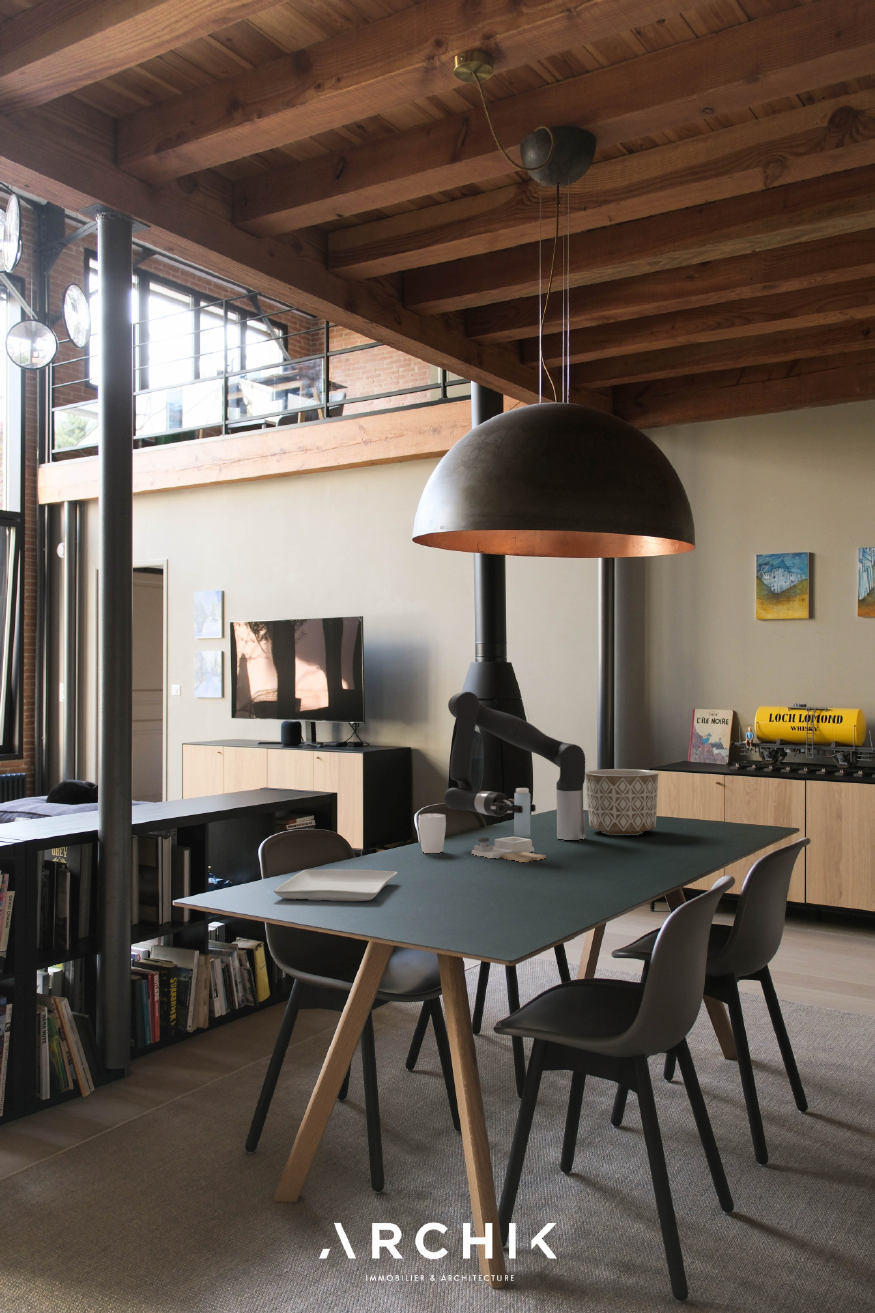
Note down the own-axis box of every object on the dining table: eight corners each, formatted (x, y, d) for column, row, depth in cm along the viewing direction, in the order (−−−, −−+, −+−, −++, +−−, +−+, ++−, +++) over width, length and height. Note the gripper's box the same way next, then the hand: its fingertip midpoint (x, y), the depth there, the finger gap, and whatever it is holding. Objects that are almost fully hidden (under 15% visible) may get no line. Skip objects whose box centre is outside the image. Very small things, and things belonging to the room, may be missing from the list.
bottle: (522, 833, 312) (522, 787, 312) (533, 835, 308) (533, 788, 308) (510, 835, 308) (511, 788, 309) (522, 837, 305) (522, 790, 305)
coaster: (523, 854, 315) (523, 851, 315) (546, 858, 307) (546, 855, 307) (500, 858, 309) (500, 855, 309) (523, 862, 301) (523, 859, 301)
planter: (595, 839, 343) (594, 776, 344) (579, 828, 369) (578, 769, 369) (669, 837, 345) (667, 774, 346) (647, 827, 371) (646, 768, 372)
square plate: (303, 881, 278) (303, 868, 278) (398, 884, 274) (398, 870, 274) (272, 903, 251) (272, 888, 251) (377, 906, 247) (377, 890, 247)
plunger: (484, 849, 317) (484, 836, 317) (491, 850, 315) (491, 838, 315) (476, 850, 315) (476, 838, 315) (483, 851, 313) (483, 839, 313)
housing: (512, 848, 327) (512, 836, 327) (534, 852, 319) (533, 839, 319) (471, 854, 316) (471, 842, 316) (492, 859, 308) (492, 846, 308)
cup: (444, 855, 316) (443, 817, 316) (416, 854, 317) (415, 817, 317) (448, 850, 325) (447, 813, 325) (421, 849, 326) (420, 813, 326)
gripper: (474, 793, 315) (511, 798, 302) (507, 790, 324) (544, 795, 311) (474, 816, 315) (511, 823, 302) (507, 813, 324) (544, 819, 311)
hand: (528, 808), depth 306 cm, fingers closed on bottle, 5 cm apart
